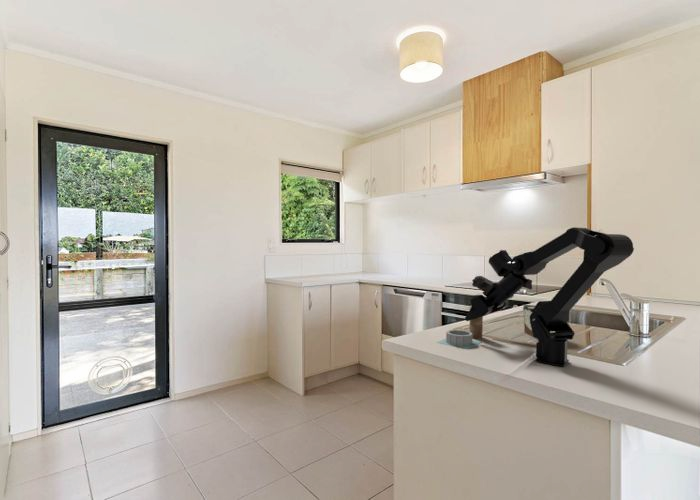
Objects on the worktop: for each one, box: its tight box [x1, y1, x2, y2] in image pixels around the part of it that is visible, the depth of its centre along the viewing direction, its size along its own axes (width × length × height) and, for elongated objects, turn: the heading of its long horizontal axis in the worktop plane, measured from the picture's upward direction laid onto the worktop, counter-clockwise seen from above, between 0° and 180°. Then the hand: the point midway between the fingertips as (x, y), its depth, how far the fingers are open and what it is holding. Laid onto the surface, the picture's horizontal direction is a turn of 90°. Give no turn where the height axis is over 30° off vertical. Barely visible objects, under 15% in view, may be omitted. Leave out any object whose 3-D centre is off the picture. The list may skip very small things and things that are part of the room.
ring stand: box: [436, 329, 482, 350], centre depth 110 cm, size 10×10×4 cm
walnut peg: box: [468, 305, 484, 340], centre depth 117 cm, size 4×4×11 cm
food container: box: [522, 304, 539, 341], centre depth 123 cm, size 12×6×10 cm, turn 179°
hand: (471, 317), depth 118 cm, fingers open, 9 cm apart
